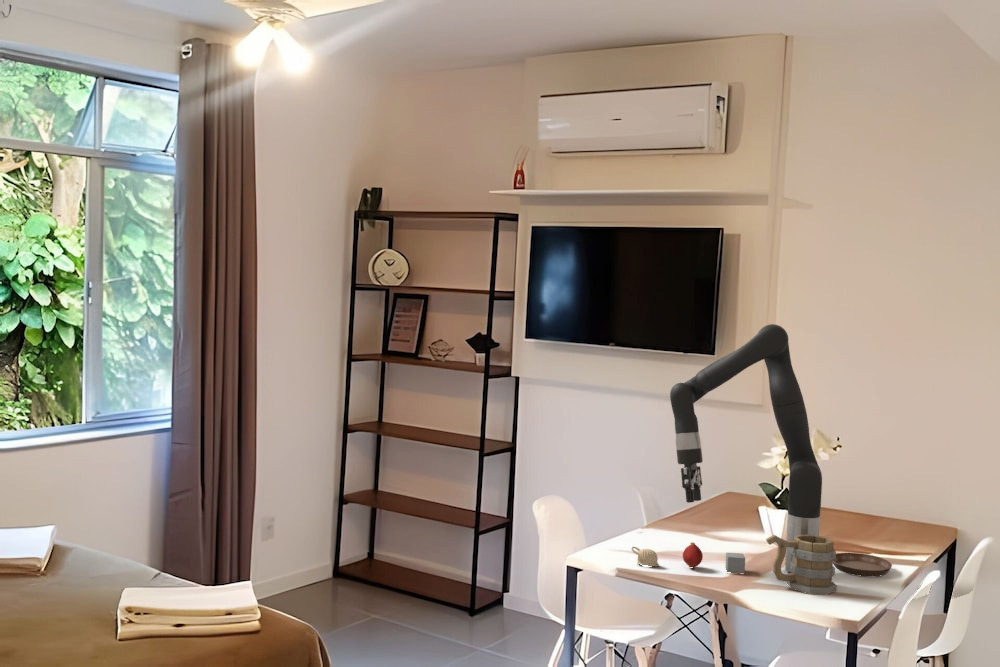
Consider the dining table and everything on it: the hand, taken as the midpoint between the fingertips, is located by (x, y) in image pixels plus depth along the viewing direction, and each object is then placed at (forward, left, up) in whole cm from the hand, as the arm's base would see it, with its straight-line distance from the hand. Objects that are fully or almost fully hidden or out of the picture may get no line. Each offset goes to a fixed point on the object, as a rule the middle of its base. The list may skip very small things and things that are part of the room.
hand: (694, 501), depth 298 cm
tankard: (-34, +1, -19) cm, 39 cm away
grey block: (-14, -1, -19) cm, 24 cm away
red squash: (-3, +5, -19) cm, 20 cm away
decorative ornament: (+9, +12, -19) cm, 24 cm away
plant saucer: (-42, -30, -20) cm, 55 cm away
